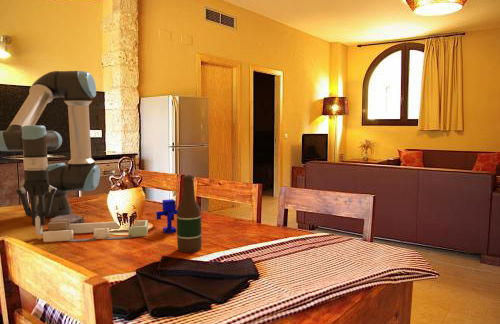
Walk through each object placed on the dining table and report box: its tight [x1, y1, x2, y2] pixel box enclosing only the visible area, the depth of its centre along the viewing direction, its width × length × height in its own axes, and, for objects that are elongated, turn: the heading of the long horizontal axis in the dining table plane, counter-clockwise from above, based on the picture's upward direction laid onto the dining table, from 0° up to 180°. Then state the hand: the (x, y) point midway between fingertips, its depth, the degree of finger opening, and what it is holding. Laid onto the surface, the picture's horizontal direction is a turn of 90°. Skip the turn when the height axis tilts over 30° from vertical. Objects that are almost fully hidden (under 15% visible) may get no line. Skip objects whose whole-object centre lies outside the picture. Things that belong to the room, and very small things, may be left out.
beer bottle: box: [176, 174, 203, 254], centre depth 129 cm, size 8×8×24 cm
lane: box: [42, 219, 149, 243], centre depth 148 cm, size 11×35×4 cm, turn 102°
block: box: [47, 219, 70, 231], centre depth 145 cm, size 6×6×6 cm
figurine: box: [155, 198, 177, 234], centre depth 152 cm, size 8×8×12 cm
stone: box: [48, 213, 85, 224], centre depth 160 cm, size 12×9×5 cm
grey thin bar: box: [69, 235, 131, 243], centre depth 142 cm, size 2×20×1 cm, turn 102°
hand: (39, 234), depth 144 cm, fingers closed
